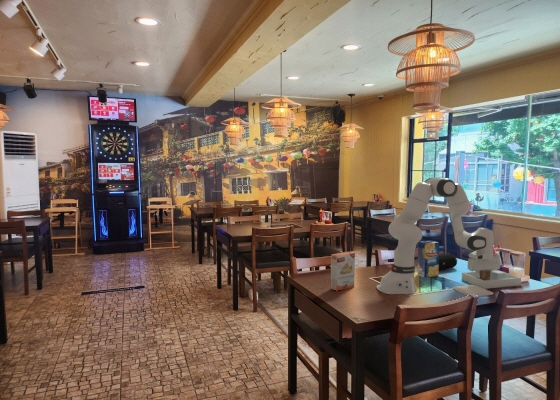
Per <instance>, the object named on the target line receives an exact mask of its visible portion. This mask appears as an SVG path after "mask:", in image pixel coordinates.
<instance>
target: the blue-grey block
mask: <svg viewBox="0 0 560 400" xmlns="http://www.w3.org/2000/svg"><path fill="white" fill-rule="evenodd" d="M500 271H501V270H499V271H492V273H491V280H496V279H505V273H506V272H505V273H503V272H504V271H502V272H500Z"/></svg>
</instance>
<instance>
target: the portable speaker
mask: <svg viewBox="0 0 560 400" xmlns="http://www.w3.org/2000/svg"><path fill="white" fill-rule="evenodd" d="M457 265H458V259H457V258H456V256H455V255H454V254H450V253H447V254H439V271H443V270H451V269H454V268H455V267H457Z"/></svg>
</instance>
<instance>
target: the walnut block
mask: <svg viewBox="0 0 560 400" xmlns="http://www.w3.org/2000/svg"><path fill="white" fill-rule="evenodd" d="M479 273H480V275H481V278H479V279H481V280H484V281H485V280H490V278H491V271H490V270H482V271H480V272H479ZM477 278H478V277H477Z"/></svg>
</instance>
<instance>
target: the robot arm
mask: <svg viewBox="0 0 560 400" xmlns="http://www.w3.org/2000/svg"><path fill="white" fill-rule="evenodd" d="M466 193H467V192H466V191H465V189H464V188H463V186H462V185H461V184H460V183H458V182H457V183H456V182H454V181H453V180H452V179H451V178H448V177H446V178H444V177H429V178H427V179H426V180H424V181H423V182H418V183H416V184H415V186H414V187H413V189H412V190H411V192H410V194H409V196H408V198H407V200H406V203H404V204H405V205H404V207H403V209H402V210H401V212H400V213H399V215H398V216H397V217H396V219H395V220H393V221H392V222H390V223H389V226H388V233H389V235H391V237H393V238H394V239H396V240H398V243H397V246H396V248H395V249H394V250H393V264H392V265H391V264H388V265H387V268H388V269H390V270H389V272H387V273H386V274H385V275H383V276H382V277H381V279H380V283H379V284H377V285H376V289H377V290H378V291H379V292H381V293H383V294H387V295H414V294H415V292H417V285H416V281H415V272H416V266H415V253H416V249H417V246H418V242H421V240H422V239H423V231H422V230H421V228H420V227H419V226H417V225H415V224H416V223H417V222H418V221H419V220H420V219H422V218H423V216H424V214H425V213H426V210H427V207H428V205H429V202H430V200H431V198H432V197H433V196H434V197H436V198H437V197H438V198H442V197H443V198H445V200H446V203H447V206H448V211H449V212H448V214H449V216H448V217H449V220H450V224H451V229H452V242H453V244H454V245H455V246H456V247H458V248H463V249H467V250H470V251H472V252H469V253H468V257H469V258H468V260H467V270H469V272H476V274H477V277H478V278H481V275H480V273H479V272H480V271H482V270H490V271H491V273H492V270H499V269H500V268H501V260H500V255H499V254H498V253H494V247H493V245H494V242H495V241H494V240H495V239H494V231H493V230H492V229H490V228H487V227H477V229H476V230H475V231H473V232H467V231H466V230H465V228H464V224H463V220H462V217H463V216H465V215H467V213H469V211H470V209H471V206H470V205H471V204H470V201H469V198H468V195H467V194H466Z"/></svg>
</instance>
